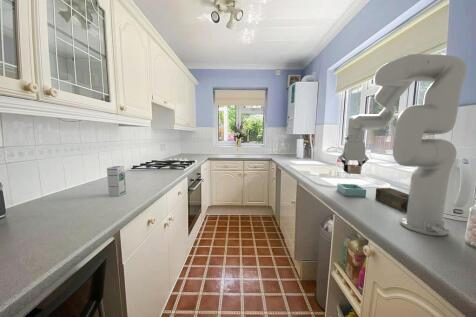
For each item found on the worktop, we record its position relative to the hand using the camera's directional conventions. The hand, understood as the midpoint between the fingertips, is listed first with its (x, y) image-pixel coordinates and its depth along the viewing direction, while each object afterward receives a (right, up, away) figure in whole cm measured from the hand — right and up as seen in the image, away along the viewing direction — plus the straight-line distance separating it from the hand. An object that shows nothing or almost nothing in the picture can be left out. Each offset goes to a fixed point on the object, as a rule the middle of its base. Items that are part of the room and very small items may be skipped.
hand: (352, 171), depth 116 cm
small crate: (0, -1, 0) cm, 1 cm away
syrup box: (-125, -12, -8) cm, 126 cm away
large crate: (0, -12, +1) cm, 12 cm away
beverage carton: (+11, -15, -18) cm, 26 cm away
